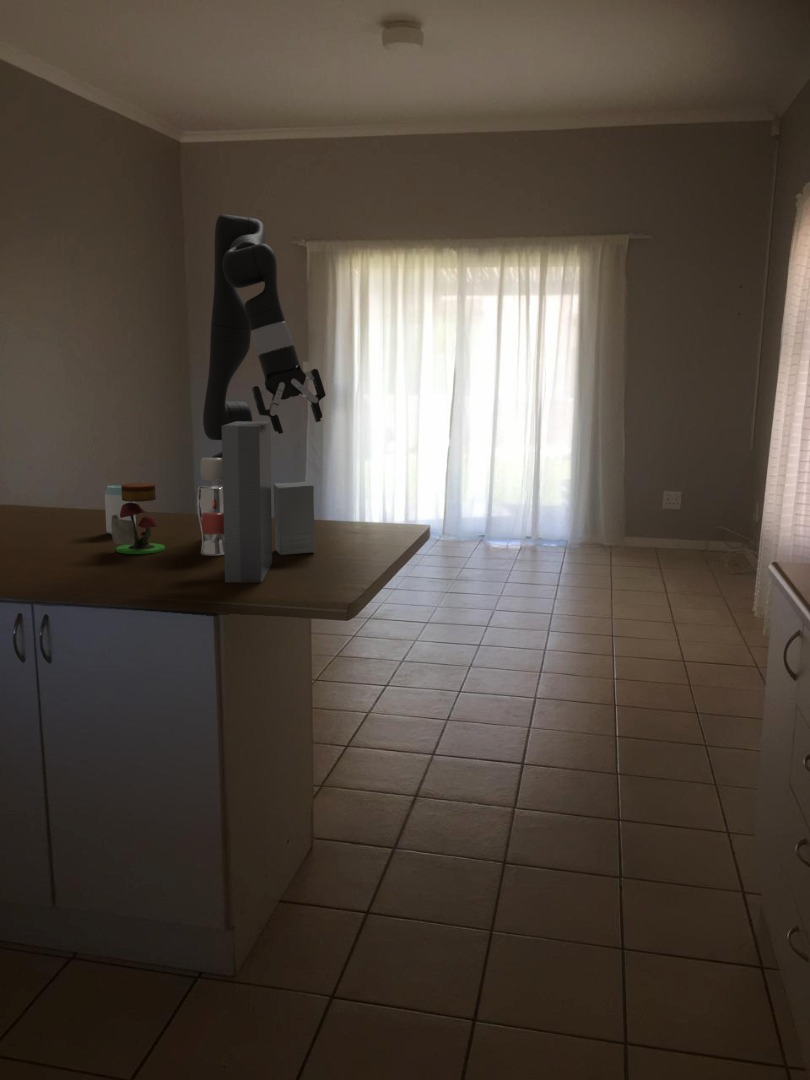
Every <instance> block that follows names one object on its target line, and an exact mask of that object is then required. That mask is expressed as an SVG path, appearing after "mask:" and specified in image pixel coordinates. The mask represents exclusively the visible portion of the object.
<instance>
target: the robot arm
mask: <svg viewBox="0 0 810 1080" xmlns="http://www.w3.org/2000/svg"><path fill="white" fill-rule="evenodd" d="M265 229H266V228H265V226H264V224H263V222H262V221H260V220H259V219H257V218H253V217H247V216H239V215H232V214H220V215H218V216H217V219H216V222H215V229H214V268H213V269H214V272H213V273H214V277H213V278H214V280H213V281H214V283H213V284H214V285H213V298H212V309H211V321H210V322H211V323H210V336H209V337H210V341H209V344H210V345H209V350H210V351H209V365H208V366H209V367H208V377H207V385H206V391H205V398H204V399H205V400H204V407H203V415H202V424H203V430H204V433H205V434H204V435H206V437H207V438H208V440H212V441H222V426H223V425H226V424H229V423H233V422H236V421H243V422H253V414H252V410H251V408H250V406H249V404H248V403H246V402H245V401H240V400H239V401H238V400H237V401H235V400H234V401H231V400H229V401H228V400H227V399H226V398H227V393H228V389H229V385H230V382H231V380H232V378H233V376H234V375H235V373H236V372H237V370H238V369H239V367H240V366H241V364H242V363H243V361H244V360H245V358H246V357H247V355H248V353H249V351H250V347H251V337H252V339H253V344H254V348H255V350H256V351H255V352H256V355H257V358H258V361H259V364H260V368H261V371H262V374H263V377H264V381H265V382H264V383H263V384H261V385H254V386H252V388H251V393H252V395H253V398H254V401H255V406H256V408H257V411H258V415H260V416H267V417H269V419H270V423H271V425H272V428H273V431H274V432H277V433H278V434H279V435H281V434H283V433H284V430H283V427H282V424H281V421H280V417H279V415H278V414H277V411H278V408H279V405H280V402H281V401H284V400H288V399H289V398H291V397H292V398H294V397H298V396H299V395H300V396H301V397H303V398H305V399H306V400H307V401H308V402H310V408H311V411H312V414H313V417H314V421H315V423H320V422H321V421H322V420H321V419H322V418H323V413H322V409H321V406H320V400H322V399H323V398H325V397H326V391H325V389H324V388H325V387H324V385H323V382H322V379H321V375H320V372H319V370H318V369H317V368H314V369H311V370H309V371H306V372H305V371H303V369H302V367H301V364H300V361H299V358H298V354H297V351H296V347H295V344H294V339H293V337H292V333H291V332H290V329H289V327H288V325H287V322H286V319H285V315H284V312H283V309H282V305H281V302H280V297H279V296H280V295H279V291H278V262H277V257H276V254H275V252H274V250H273V249H272V248H271V247H270V246H269V245H268V244H266V230H265ZM261 283H264V288H263V289H262V291H260V293H258V294H257V295H255V296H253V297H251V298H250V299H247V300H246V301H245V302H244V300H243V298H242V296H241V294H240V292H239V291H238V289H243V288H247V287H249V286H253V285H257V284H261ZM306 379H308V380H309V381H310V382H312V384H313V385H314V389H315V392H316V394H315V395H314V394H313V393H312V392H311V391H310V390H309V389H307V388H306V387H305V386H304V385H305V382H306ZM265 390H266V391H268V392H269V393H271V395H272V397H271V399H270V405H269V409H266V405H265V402H264V399H263V396H265ZM226 400H227V401H226ZM211 458H222V451H221V452H219V453H216V454H214V455H213V456H212V457H211ZM211 485H220V486H223V480H211Z"/></svg>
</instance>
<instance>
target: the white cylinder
mask: <svg viewBox="0 0 810 1080" xmlns="http://www.w3.org/2000/svg"><path fill="white" fill-rule="evenodd" d="M199 468H200V469H199V471H200V478H201V480H202V481H212V480H223V465H222V458H212V457H202V458H201V459H200V466H199Z"/></svg>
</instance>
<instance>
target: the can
mask: <svg viewBox="0 0 810 1080" xmlns="http://www.w3.org/2000/svg"><path fill="white" fill-rule="evenodd" d="M122 485H123V484H113V485H107V486H106V488H107V489H106V490H105V492H104V505H105V507H104V508H105V526H106V527H105V528H106V533H107V534H109V535H110V536H112V527H111V523H112V517H111V516H113V515H116V514H118V516H119V519H122V520H130V521H131V516H128V517H123V518H121V517H120V512H121V508H122V505H123V504H125V503H136V502H128V501H123V500H122V490H121V486H122ZM133 517H134V521H135V525H136V521H137V520H136V515H133ZM136 526H137V525H136Z"/></svg>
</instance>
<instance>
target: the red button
mask: <svg viewBox="0 0 810 1080" xmlns="http://www.w3.org/2000/svg"><path fill="white" fill-rule="evenodd" d="M202 532H203V534H213V535H224V513H203V515H202ZM202 532H201V533H202Z"/></svg>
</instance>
